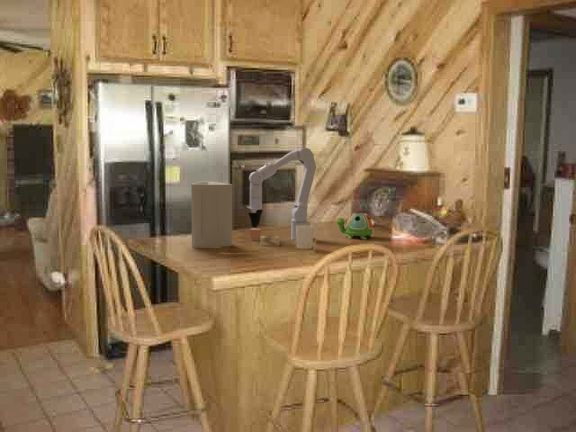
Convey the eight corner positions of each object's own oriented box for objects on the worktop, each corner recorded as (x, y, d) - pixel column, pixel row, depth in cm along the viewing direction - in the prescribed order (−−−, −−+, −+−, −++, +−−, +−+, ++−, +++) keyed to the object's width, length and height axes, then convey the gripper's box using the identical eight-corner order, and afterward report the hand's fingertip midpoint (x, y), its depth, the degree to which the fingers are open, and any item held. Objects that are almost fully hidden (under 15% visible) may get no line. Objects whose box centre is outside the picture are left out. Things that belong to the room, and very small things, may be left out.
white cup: (315, 250, 261) (315, 227, 259) (297, 250, 259) (297, 228, 258) (311, 247, 268) (311, 225, 267) (294, 247, 267) (294, 225, 266)
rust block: (260, 238, 284) (260, 228, 284) (259, 240, 280) (259, 229, 279) (251, 238, 285) (251, 228, 284) (250, 240, 280) (250, 229, 280)
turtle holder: (339, 234, 305) (340, 211, 303) (375, 236, 299) (375, 213, 298) (333, 238, 293) (334, 214, 292) (370, 240, 288) (370, 216, 286)
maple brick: (279, 243, 272) (279, 236, 272) (278, 245, 267) (278, 237, 267) (261, 243, 273) (261, 235, 272) (260, 245, 268) (260, 237, 267)
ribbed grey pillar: (181, 244, 271) (181, 182, 268) (209, 240, 281) (209, 181, 277) (205, 250, 257) (204, 185, 253) (233, 246, 267) (233, 184, 263)
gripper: (249, 195, 287) (249, 223, 289) (245, 198, 273) (244, 228, 275) (264, 196, 287) (263, 224, 288) (260, 199, 272) (260, 228, 274)
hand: (255, 226), depth 282 cm, fingers open, 7 cm apart
